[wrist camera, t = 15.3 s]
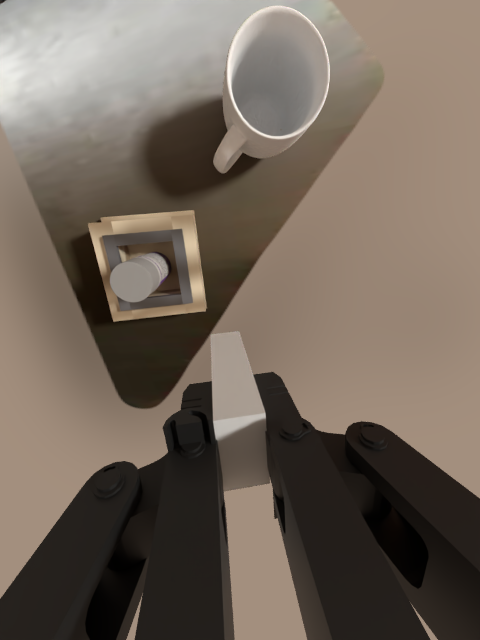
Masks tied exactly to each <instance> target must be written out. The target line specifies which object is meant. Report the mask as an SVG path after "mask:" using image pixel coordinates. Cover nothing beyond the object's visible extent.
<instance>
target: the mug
mask: <svg viewBox="0 0 480 640" xmlns="http://www.w3.org/2000/svg"><path fill="white" fill-rule="evenodd" d="M224 75H225V77H224V82H223V84H224V86H223V113H224V120H225V123H226V127H227V130H228V132H227V133H226V135H225V136H224V138H223V140H222V142H221V144H220V145H219V147H218V149H217V151H216V153H215V156H214V159H213V163H214V166H215V168H216V169H217V170H218V171H219V172H220V173H226V172H227V171H228V170H229V169H230V168H231V167H232V166H233V164H234V163H235V162H236V161H237V159H238V158H239V157H240V155H241V154H242V153H245V154H247V155H248V156H251V157H254V158H260V159H261V158H269V157H273V156H275V155H278V154H280V153H281V152H283V151H285V150H286V149H288V148H289V147H290V146H291V145H292V144H294V142H296V141H297V140H298V138H300V137H301V136H302V134H303V133H304V132H305V131H306V130H307V129H308V127H309V126H310V125H311V124H312V123H313V122H314V120H315V119H316V117H317V116H318V114H319V113H320V111H321V109H322V107H323V104H324V102H325V99H326V96H327V92H328V87H329V80H330V66H329V58H328V54H327V50H326V46H325V44H324V41H323V39H322V37H321V35H320V33H319V32H318V30H317V29H316V27H315V26H314V25H313V23H312V22H311V21H310V20H309V19H308V18H307V17H305V16H304V15H303V14H301V13H300V12H298V11H296V10H294V9H292V8H289V7H285V6H270V7H266V8H263V9H260V10H258V11H257V12H255V13H254V14H252V15H251V16H250V17H248V18H247V19H246V20H245V21H244V22H243V24H242V25H241V26H240V27H239V29H238V30H237V32H236V34H235V36H234V38H233V40H232V42H231V45H230V48H229V52H228V56H227V62H226V69H225V72H224Z"/></svg>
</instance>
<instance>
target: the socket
mask: <svg viewBox="0 0 480 640" xmlns="http://www.w3.org/2000/svg"><path fill="white" fill-rule="evenodd" d="M101 221H102V222H99V223H88V226H89V230H90V234H91V238H92V241H93V245H94V249H95V253H96V257H97V261H98V264H99V268H100V272H101V276H102V280H103V284H104V287H105V291H106V295H107V299H108V303H109V307H110V310H111V314H112V318H113V322H114V321H123V320H132V319H140V318H149V317H158V316H166V315H175V314H184V313H193V312H201V311H206V308H207V306H206V298H205V291H204V283H203V275H202V268H201V260H200V253H199V245H198V237H197V230H196V222H195V215H194V210H190V211H178V212H165V213H153V214H140V215H128V216H116V217H103V218H101ZM151 252H159V253H162V254H164V255H165V256H166V257H167V258H168V259H169V260H170V263H171V272H170V274H169V276H168V277H167V278H166V279H165V280H164V281H163V282H162V284H161V285H160V286H159V287H158V288H157V289H156V290H155V291H154V292H152V293H151V294H150V295H149V296H148V297H147V298H145V299H144V300H142V301H139V302H127V301H124V300H122V299H121V298H119V297H118V296H117V295H116V294H115V293H114V292H113V290H112V288H111V285H110V275H111V272H112V270H113V269H114V268H115V267H116V266H117V265H119V264H120V263H123V262H125V261H128V260H130V259H132V258H135V257H138V256H141V255H145V254H148V253H151Z"/></svg>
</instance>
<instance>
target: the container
mask: <svg viewBox="0 0 480 640" xmlns="http://www.w3.org/2000/svg"><path fill="white" fill-rule="evenodd" d="M170 272H171V263H170V260H169V259H168V258H167V257H166V256H165V255H164V254H162V253H159V252H151V253H148V254H145V255H141V256H138V257H135V258H132V259H130V260H128V261H125V262H123V263H120V264H119V265H117V266H116V267H115V268H114V269H113V270H112V272H111V275H110V285H111V288H112V290H113V292H114V293H115V294H116V295H117V296H118V297H119V298H121V299H122V300H124V301H127V302H139V301H142V300H144V299H145V298H147V297H148V296H149V295H150V294H151V293H152V292H154V291H155V290H156V289H157V288H158V287H159V286H160V285H161V284H162V282H163V281H164V280H165V279H166V278H167V277H168V276H169V274H170Z"/></svg>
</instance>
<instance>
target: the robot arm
mask: <svg viewBox="0 0 480 640" xmlns="http://www.w3.org/2000/svg"><path fill="white" fill-rule="evenodd" d="M1 1H3V0H0V2H1ZM211 365H212V381H210V382H203V383H196V384H190V385H189V386H188V387H187V389H186V390H185V391H184V392H183V398H182V404H181V410H180V411H178V412H177V413H175V414H173V415H172V416H171V417H170V418H168V419H167V420H166V422H165V424H164V426H163V431H164V435H165V439H166V444H167V448H168V453H167V454H166V455H165V456H164V457H162V458H161V459H159V460H157V461H155V462H154V463H151V464H149V465H147V466H144V467H142V468H140V469H137V467H136V466H135V465H134V464H132V463H130V462H126V461H122V462H115V463H112V464H110V465H107V466H105V467H103V468H102V469H100V470H99V471H97V472H96V473H94V474H93V476H91V478H90V479H89V480H88V481H87V482H86V483H85V485H84V486H83V487H82V488H81V490H80V491H79V493H78V494H77V495H76V497H75V498H74V499H73V501H72V502H71V503H70V505H69V506H68V508H67V509H66V510H65V511H64V513H63V514H62V516H61V517H60V519H59V520H58V521H57V522H56V524H55V525H54V526H53V528H52V529H51V531H50V532H49V533H48V535H47V536H46V537H45V539H44V540H43V542H42V543H41V544H40V546H39V547H38V548H37V550H36V551H35V552H34V554H33V555H32V556H31V558H30V559H29V561H28V562H27V563H26V565H25V566H24V567H23V569H22V570H21V571H20V573H19V574H18V576H17V577H16V578H15V580H14V581H13V582H12V584H11V585H10V586H9V588H8V589H7V590H6V592H5V593H4V595H3V596H2V597H1V599H0V640H126V639H127V636H128V633H129V630H130V627H131V624H132V622H133V619H134V616H135V613H136V610H137V608H138V605H139V602H140V599H141V596H142V594H143V596H142V601H141V607H140V613H139V618H138V624H137V630H136V636H135V640H234V625H233V610H232V597H231V581H230V566H229V553H228V552H229V551H228V537H227V523H226V509H225V502H224V491H229V490H234V489H240V488H246V487H252V486H257V485H263V484H268V483H270V479H271V483H272V486H273V499H274V517H275V519H276V518H278V521H279V525H280V528H281V533H282V537H283V541H284V546H285V549H286V554H287V558H288V562H289V566H290V570H291V574H292V578H293V582H294V586H295V591H296V595H297V599H298V603H299V607H300V611H301V615H302V619H303V623H304V628H305V631H306V635H307V640H430V638H429V636H428V634H427V633H426V631H425V629H424V627H423V625H422V624H421V621H420V620H419V618H418V616H417V615H416V612H415V611H414V609H413V607H414V608H415V609H416V611H417V612H418V613H419V615H420V616H421V617H422V619H423V620H424V621H425V623H426V624H427V625H428V626H429V628H430V629H431V631H432V632H433V633H434V635H435V636H436V637H437V639H438V640H480V498H478V497H477V496H476V495H474V494H473V493H472V492H470V491H469V490H468V489H466V488H465V487H464V486H462V485H461V484H460V483H459V482H457V481H456V480H454V479H453V478H452V477H451V476H449V475H448V474H447V473H445V472H444V471H443V470H441V469H440V468H439V467H437V466H436V465H435V464H434V463H432V462H431V461H430V460H428V459H427V458H425V457H424V456H423V455H422V454H420V453H419V452H417V451H416V450H415V449H414V448H412V447H411V446H410V445H408V444H407V443H406V442H405V441H403V440H402V439H401V438H399V437H398V436H397V435H395V434H394V433H393V432H391V431H390V430H388V429H386V428H385V427H383V426H381V425H378V424H375V423H372V422H357V423H353V424H352V425H350V426H349V427H348V428H347V431H346V434H345V435H343V434H333V433H326V432H321V431H318V430H316V429H315V428H314V427H313V426H312V425H311V423H310V422H308V421H307V420H305V419H303V418H301V416H300V414H299V412H298V410H297V408H296V406H295V404H294V402H293V400H292V398H291V396H290V395H289V393H288V390H287V388H286V387H285V384H284V383H283V381H282V379H281V377H279V376H278V375H277V374H275V373H274V372H270V373H262V374H255V375H253V373H252V370H251V367H250V364H249V360H248V357H247V354H246V351H245V348H244V345H243V342H242V339H241V336H240V333H239V331H236V332H229V333H220V334H212V335H211ZM269 475H270V476H269ZM411 604H412V605H413V607H412V605H411Z"/></svg>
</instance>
